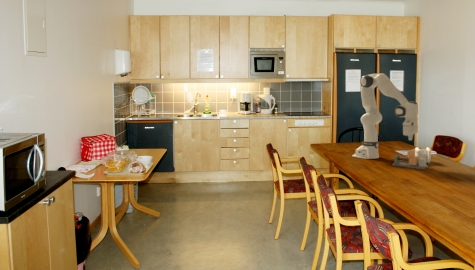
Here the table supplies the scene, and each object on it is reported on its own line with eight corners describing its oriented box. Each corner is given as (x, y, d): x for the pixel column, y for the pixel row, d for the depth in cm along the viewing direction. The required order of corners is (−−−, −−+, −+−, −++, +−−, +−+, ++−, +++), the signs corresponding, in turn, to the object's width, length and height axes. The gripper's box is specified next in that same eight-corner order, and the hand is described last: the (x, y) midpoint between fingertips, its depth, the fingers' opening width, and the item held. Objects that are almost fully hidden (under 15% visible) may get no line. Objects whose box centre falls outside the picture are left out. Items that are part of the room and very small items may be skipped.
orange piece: (406, 165, 344) (407, 151, 342) (413, 162, 352) (413, 148, 351) (414, 166, 340) (415, 151, 338) (420, 163, 348) (421, 149, 347)
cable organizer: (430, 164, 354) (431, 150, 352) (416, 164, 357) (417, 149, 355) (427, 160, 368) (428, 146, 367) (414, 160, 371) (414, 146, 370)
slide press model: (392, 165, 353) (392, 156, 352) (397, 163, 360) (398, 154, 359) (423, 169, 337) (423, 160, 336) (428, 167, 344) (428, 158, 343)
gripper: (412, 120, 354) (411, 138, 356) (401, 123, 339) (400, 141, 341) (420, 121, 349) (419, 138, 351) (410, 123, 334) (409, 142, 337)
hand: (410, 140), depth 346 cm, fingers closed
